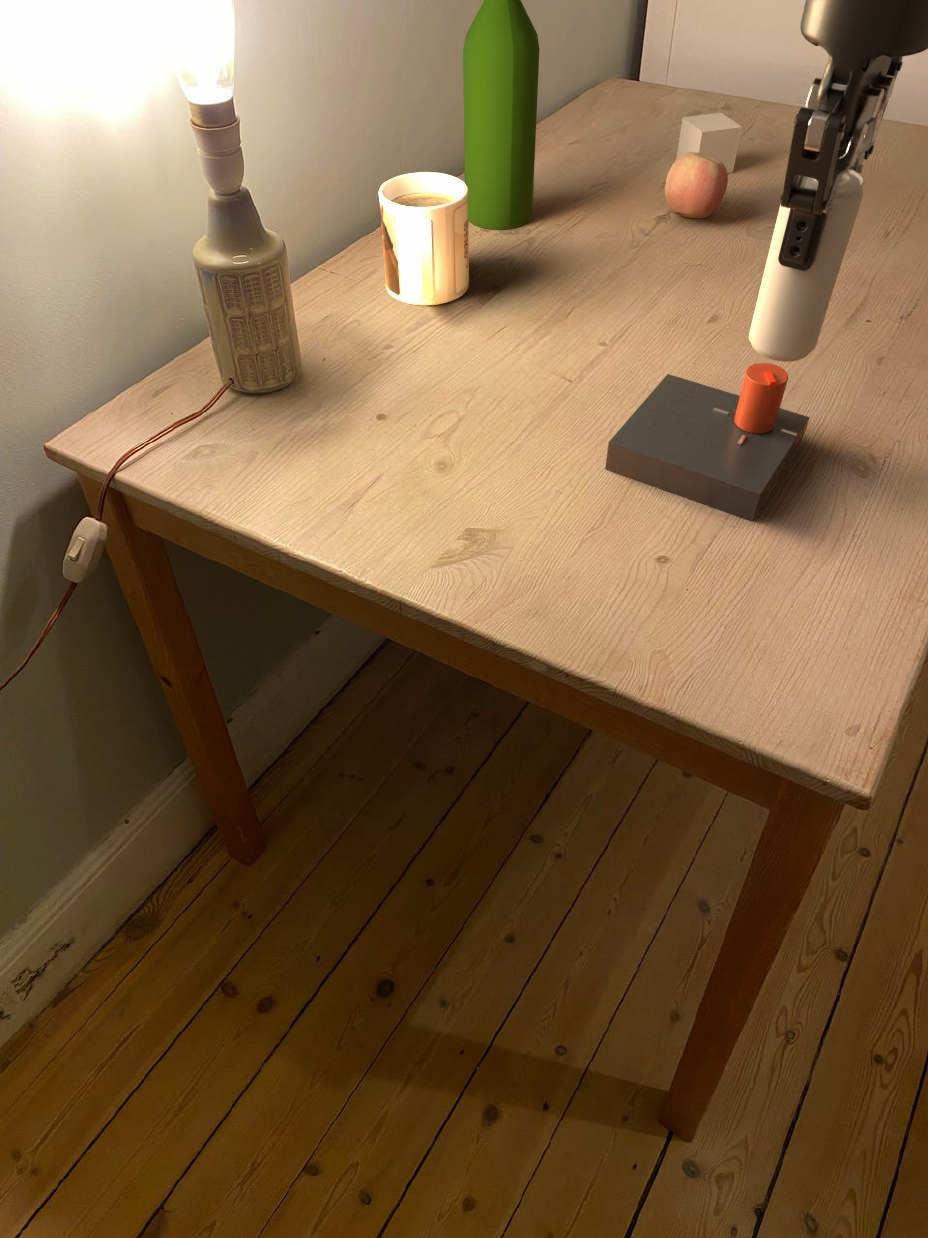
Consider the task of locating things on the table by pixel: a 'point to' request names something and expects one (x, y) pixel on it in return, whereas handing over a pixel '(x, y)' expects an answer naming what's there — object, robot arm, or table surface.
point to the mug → (425, 237)
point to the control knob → (760, 398)
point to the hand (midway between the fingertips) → (808, 248)
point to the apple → (695, 185)
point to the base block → (704, 447)
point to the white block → (710, 137)
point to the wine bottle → (500, 114)
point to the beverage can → (803, 280)
